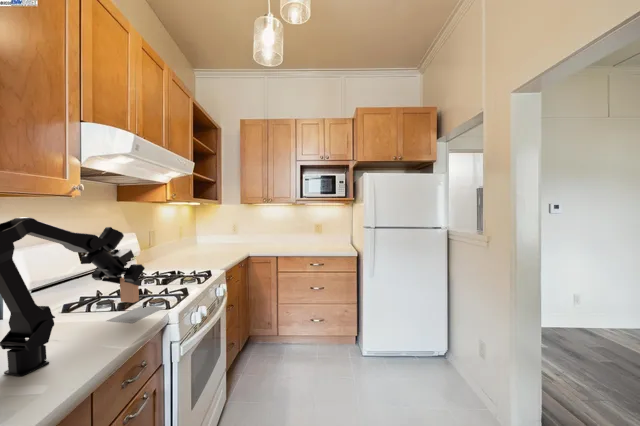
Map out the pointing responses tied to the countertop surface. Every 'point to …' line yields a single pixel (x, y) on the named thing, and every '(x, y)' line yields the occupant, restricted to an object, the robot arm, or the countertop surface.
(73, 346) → the countertop surface
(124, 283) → the tan flat block
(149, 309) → the mat
